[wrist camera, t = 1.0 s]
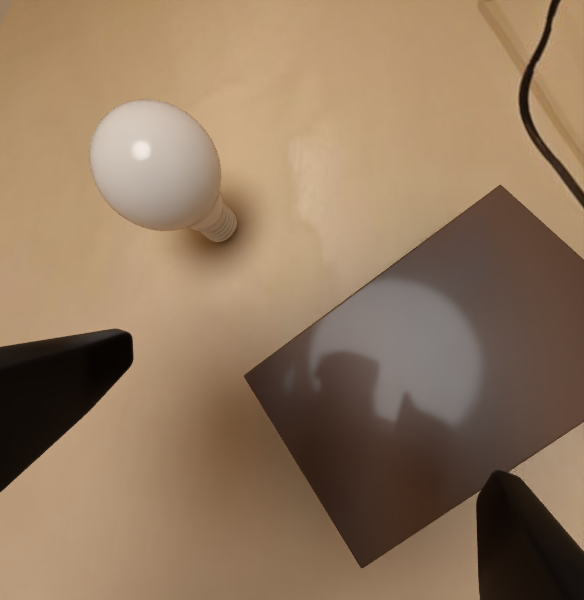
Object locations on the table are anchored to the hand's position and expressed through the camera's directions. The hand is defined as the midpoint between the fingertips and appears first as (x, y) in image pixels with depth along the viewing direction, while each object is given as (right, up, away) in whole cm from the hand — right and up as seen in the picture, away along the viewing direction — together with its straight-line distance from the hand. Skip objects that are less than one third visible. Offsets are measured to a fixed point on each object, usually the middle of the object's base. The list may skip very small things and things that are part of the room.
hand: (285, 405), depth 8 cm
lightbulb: (-5, +8, +17) cm, 19 cm away
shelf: (+8, -1, +12) cm, 14 cm away
